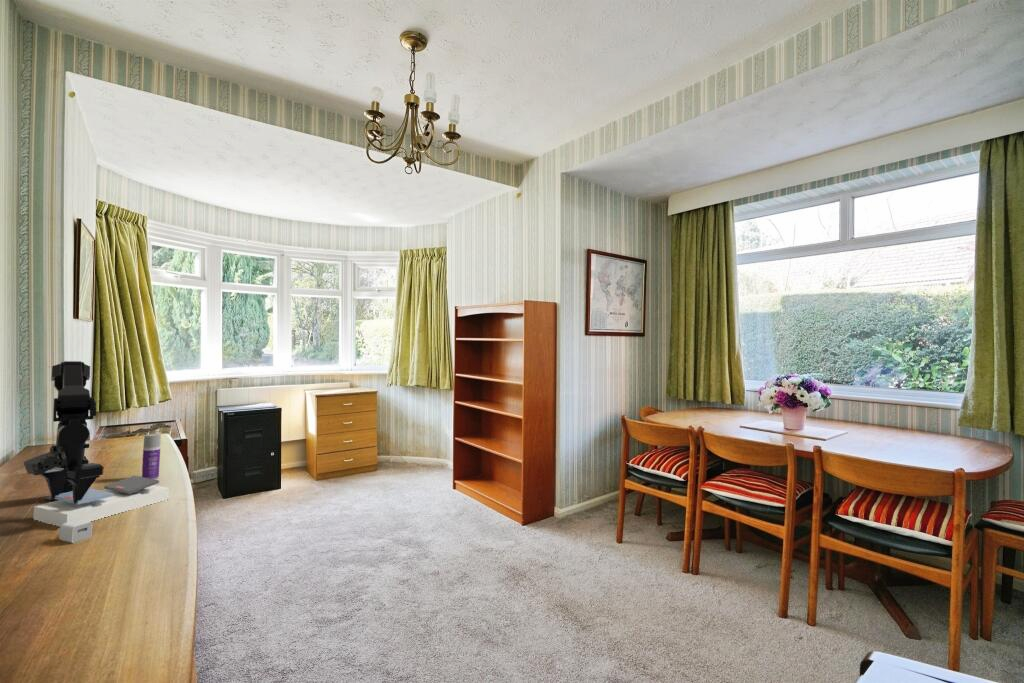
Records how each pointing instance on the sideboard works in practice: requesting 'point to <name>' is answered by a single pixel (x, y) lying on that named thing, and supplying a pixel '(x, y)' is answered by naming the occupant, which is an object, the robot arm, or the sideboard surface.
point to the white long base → (98, 506)
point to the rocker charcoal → (131, 484)
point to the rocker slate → (85, 496)
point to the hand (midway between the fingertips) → (65, 500)
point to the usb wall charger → (75, 531)
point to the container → (151, 456)
